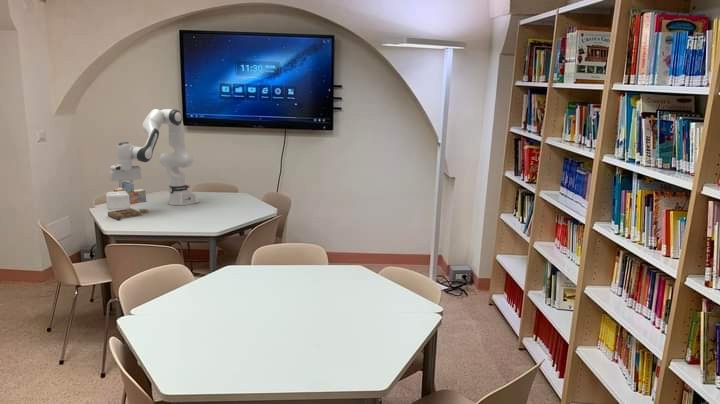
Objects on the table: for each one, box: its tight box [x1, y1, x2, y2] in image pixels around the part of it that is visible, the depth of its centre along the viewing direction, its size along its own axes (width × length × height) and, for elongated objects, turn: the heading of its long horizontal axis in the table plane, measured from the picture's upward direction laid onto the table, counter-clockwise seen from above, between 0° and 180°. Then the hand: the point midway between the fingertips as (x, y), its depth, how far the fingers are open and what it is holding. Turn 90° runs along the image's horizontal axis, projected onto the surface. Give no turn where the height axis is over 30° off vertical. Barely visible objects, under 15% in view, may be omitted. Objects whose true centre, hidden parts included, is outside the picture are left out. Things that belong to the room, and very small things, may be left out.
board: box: [107, 207, 142, 221], centre depth 348 cm, size 16×16×3 cm
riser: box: [139, 208, 149, 214], centre depth 358 cm, size 4×5×2 cm
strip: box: [118, 180, 135, 192], centre depth 346 cm, size 4×14×5 cm, turn 47°
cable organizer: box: [105, 191, 131, 211], centre depth 368 cm, size 15×11×12 cm
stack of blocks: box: [113, 187, 147, 205], centre depth 386 cm, size 21×6×12 cm, turn 142°
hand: (126, 186), depth 346 cm, fingers closed on strip, 4 cm apart
